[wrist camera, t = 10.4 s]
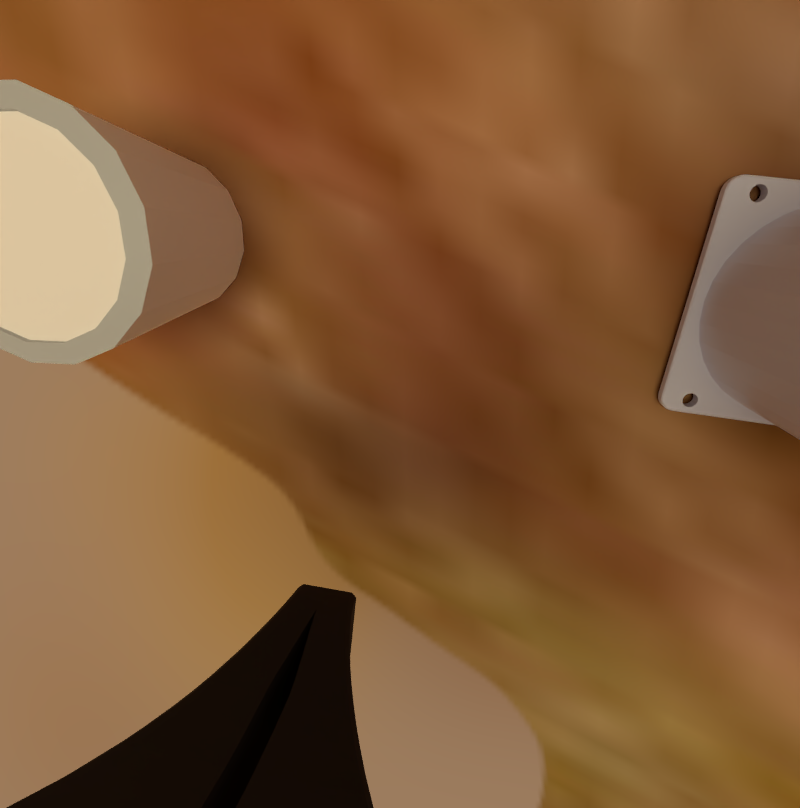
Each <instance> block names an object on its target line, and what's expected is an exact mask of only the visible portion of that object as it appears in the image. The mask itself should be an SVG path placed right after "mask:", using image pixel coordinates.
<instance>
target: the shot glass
mask: <svg viewBox="0 0 800 808" xmlns="http://www.w3.org/2000/svg"><path fill="white" fill-rule="evenodd" d="M243 253H244V243H243V232H242V220H241V218H240V216H239V213H238V211H237V209H236V207H235V205H234V203H233V200H232V198H231V196H230V194H229V192H228V190H227V189H226V188H225V187H224V186H223V185H222V184H221V183H220V182H219V181H218V180H217V179H216V178H215V177H214V176H213V174H212V173H211V172H210V171H209V170H208V169H207V168H206V167H204V166H201V165H199V164H197V163H195V162H193V161H191V160H189V159H186V158H184V157H182V156H180V155H178V154H176V153H174V152H171V151H169V150H167V149H165V148H163V147H161V146H159V145H156V144H154V143H152V142H150V141H148V140H146V139H143V138H141V137H139V136H137V135H135V134H133V133H131V132H128V131H126V130H124V129H122V128H120V127H118V126H116V125H113V124H111V123H109V122H107V121H105V120H103V119H100V118H98V117H96V116H94V115H92V114H90V113H88V112H85V111H83V110H81V109H79V108H77V107H75V106H73V105H70V104H68V103H66V102H64V101H62V100H59V99H57V98H55V97H53V96H51V95H49V94H46V93H44V92H42V91H40V90H38V89H35V88H33V87H31V86H29V85H27V84H25V83H22V82H20V81H18V80H0V349H2V350H5V351H7V352H9V353H11V354H13V355H16V356H18V357H20V358H22V359H25V360H27V361H29V362H35V363H55V364H77V363H80V362H82V361H85V360H87V359H89V358H92V357H94V356H96V355H99V354H101V353H103V352H106V351H108V350H110V349H113V348H115V347H117V346H119V345H121V344H123V343H125V342H127V341H129V340H132V339H134V338H136V337H138V336H140V335H142V334H144V333H146V332H148V331H150V330H152V329H155V328H157V327H159V326H161V325H163V324H165V323H167V322H169V321H171V320H173V319H175V318H178V317H180V316H182V315H184V314H186V313H188V312H190V311H192V310H194V309H196V308H198V307H201V306H203V305H205V304H207V303H209V302H211V301H213V300H215V299H217V298H219V297H220V296H221V295H222V294H223V293H224V291H225V290H226V289H227V288H228V287H229V286H230V284H231V283H232V282H233V281H234V280H235V279H236V277H237V273H238V270H239V267H240V263H241V260H242V256H243Z"/></svg>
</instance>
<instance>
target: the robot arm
mask: <svg viewBox="0 0 800 808" xmlns="http://www.w3.org/2000/svg"><path fill="white" fill-rule="evenodd" d="M754 186H758V187H759V188H760V190H761V194H760V197H759V198H758V200H756V201H755V202H754V201H752V200H751V199H750V191H751V189H752V188H753V187H754ZM690 393H693V399H692V400H691V401H690V402H689V403H685V404H683V403H682V401H683V398H684V396H685V395H687V394H690ZM658 400H659V402H660V404H662V405H663V406H664V407H665V408H666V409H668V410H671V411H678V412H685V413H692V414H699V415H706V416H713V417H720V418H727V419H735V420H742V421H749V422H756V423H763V424H770V425H776V426H778V427H779V428H781V429H783V430H784V431H786V432H788V433H789V434H791V435H792V436H794V437H796V438H797V439H799V440H800V180H795V179H786V178H776V177H767V176H757V175H748V174H746V175H738V176H734V177H732V178H730V179H729V180H728V181H727V182H726V183H725V184H724V185H723V187H722V189H721V191H720V194H719V197H718V200H717V204H716V207H715V210H714V214H713V217H712V220H711V223H710V227H709V230H708V233H707V236H706V240H705V243H704V246H703V249H702V253H701V256H700V259H699V263H698V266H697V269H696V272H695V276H694V279H693V282H692V285H691V289H690V292H689V295H688V299H687V302H686V305H685V308H684V312H683V315H682V318H681V321H680V325H679V328H678V331H677V334H676V338H675V341H674V344H673V348H672V351H671V354H670V357H669V361H668V364H667V367H666V370H665V374H664V377H663V380H662V383H661V387H660V390H659V393H658ZM355 603H356V597H355V596H354V595H353V594H352V593H350V592H345V591H339V590H333V589H328V588H322V587H317V586H311V585H306V584H303V585H302V586H300V587H299V588H298V589H297V590H296V591H295V593H294V594H293V595H292V596H291V597H290V598H289V599H288V601H287V602H286V603H285V604H284V605H283V606H282V607H281V608H280V610H279V611H278V612H277V613H276V614H275V615H274V616H273V617H272V618H271V619H270V620H269V621H268V622H267V623H266V624H265V625H264V626H263V627H262V628H261V629H260V631H259V632H257V634H255V635H254V636H253V637H252V638H251V640H249V641H248V643H247V644H245V645H244V646H243V647H242V648H241V649H240V650H239V651H238V652H237V653H236V654H235V655H234V656H233V657H231V658H230V659H229V660H228V661H227V662H226V663H225V664H224V665H223V666H221V667H220V668H219V669H218V670H217V671H216V672H215V673H214V674H212V675H211V676H210V677H209V678H208V679H207V680H205V681H204V682H203V683H202V684H201V685H199V686H198V687H197V688H196V689H194V690H193V691H192V692H191V693H189V694H188V695H187V696H186V697H184V698H183V699H182V700H180V701H179V702H178V703H177V704H175V705H174V706H173V707H171V708H170V709H168V710H167V711H166V712H164V713H163V714H161V715H160V716H159V717H157V718H156V719H154V720H153V721H152V722H150V723H149V724H148V725H146V726H145V727H143V728H142V729H140V730H139V731H137V732H136V733H134V734H133V735H131V736H130V737H128V738H127V739H125V740H124V741H122V742H121V743H119V744H118V745H116V746H114V747H113V748H111V749H109V750H108V751H106V752H105V753H103V754H101V755H100V756H98V757H96V758H95V759H93V760H92V761H90V762H88V763H87V764H85V765H83V766H82V767H80V768H79V769H77V770H75V771H74V772H72V773H70V774H69V775H67V776H65V777H63V778H61V779H60V780H58V781H56V782H54V783H52V784H50V785H48V786H46V787H45V788H43V789H41V790H39V791H37V792H35V793H33V794H31V795H30V796H28V797H26V798H24V799H22V800H20V801H18V802H16V803H14V804H13V805H11V806H9V807H7V808H373V804H372V800H371V796H370V792H369V788H368V784H367V780H366V775H365V771H364V765H363V760H362V755H361V750H360V745H359V739H358V733H357V727H356V720H355V713H354V705H353V695H352V686H351V672H350V652H351V642H352V632H353V622H354V613H355Z"/></svg>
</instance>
